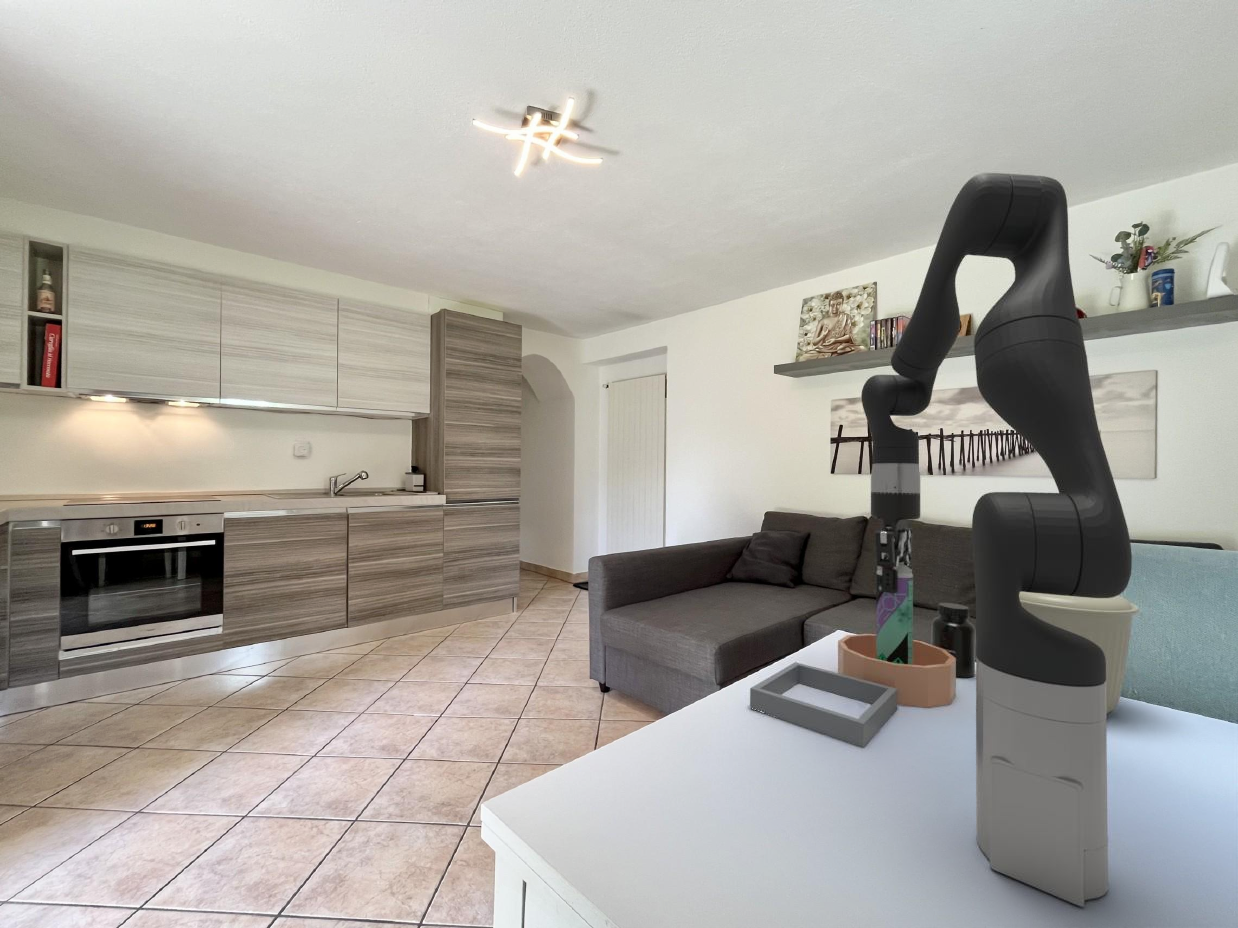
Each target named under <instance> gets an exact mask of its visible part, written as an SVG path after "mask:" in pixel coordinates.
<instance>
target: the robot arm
mask: <svg viewBox="0 0 1238 928" xmlns="http://www.w3.org/2000/svg"><path fill="white" fill-rule="evenodd" d="M1063 186H1064V185H1062V184H1061V182H1060V181H1058V180H1057V179H1055V178H1053V177H1049V176H1045V175H1034V174H1021V173H1020V174H1019V173H1018V174H1016V173H1002V172H983V173H979V174H976V175H974V176H972V177H971V178H970V179H968V180H967V181H966V182H965V183H964V185H963V186H962V187H961V189H960V190H959V193H957V196H956V197H955V199H954V201H953V203H952V205H951V207H950V209H949V212H948V214H947V216H946V219H945V221H944V223H943V226H942V229H941V233H940V235H939V238H938V241H937V243H936V246H935V249H934V252H933V254H932V258H931V260H930V263H929V267H928V269H927V272H926V274H925V278H924V281H923V283H922V287H921V289H920V290H921V291H920V293H919V297H918V299H917V303H916V305H915V308H914V310H913V312H912V315H911V317H910V319H909V321H908V323H907V325H906V327H905V329H904V331H903V333H902V334H901V337H900V339H899V341H898V342H897V344H896V346H895V349H894V350H893V353H892V356H891V357H890V366H891V368H892V370H893V371H894V372H895V373H896V374H875V375H872V376H870V377H869V378H868V379H867V380H866V381H865V383H864V385H863V387H862V389H861V394H860V395H861V404H862V409H863V411H864V414H865V417H866V421H867V424H868V425H867V426H868V428H869V431H870V436H871V441H872V459H871V460H872V464H871V465H872V467H871V475H870V516H871V517H873V518H875V519H877V518H878V519H882V525H881V528H880V529H879V530H875V533H874V536H875V553H876V566H877V567H878V566H880V568H881V569H882V590H883V591H884V592H888V593H896V592H897V591H898V571H897V570H898V564H899V558H900V559H901V560H902V562H904V565H906V566H907V567H909V566H910V563H911V562H912V560H913V556H912V555H913V537H914V530H913V528H912V527H908V520H909V521H911V520H912V521H913V520H915V521H916V520H919V519H920V518H921V474H920V465H919V464H920V463H919V462H920V461H919V456H920V454H919V452H920V451H919V450H920V449H919V447H920V446H919V443H920V442H919V435H918V434H917V432H916V431H914V430H911V429H907V428H904V427H899V426H898V425H896V424H895V423H894V420H893V419H892V416H893V417H895V416H896V417H913V416H916V415H919V414H921V413H922V412H924V411H925V410H926V409H927V408H928V407H929V406H930V403H931V400H932V395H933V390H934V385H935V382H936V378H937V374H938V371H939V368H940V366H941V365H942V363H943V362H944V360H945V358H946V357H947V355H948V354H949V352H950V350H951V349H952V347H953V346H954V344H955V342H956V340H957V338H958V335H959V332H960V328H961V314H960V308H959V302H958V297H957V291H956V287H957V286H956V280H957V274H958V270H959V268H960V265H961V264H962V261H963V260H964V258H965V257H966V256H978V257H988V258H989V257H990V258H998V259H999V258H1000V259H1007V260H1009V262H1011V263H1012V265H1013V267H1014V269H1013V270H1014V281H1013V282H1012V284H1011V286H1010V287H1008V289H1007V290H1006V291H1005V293H1004V294H1002V296H1001V297H1000V298H999V299H998V300H997V302H996V303H995V304H994V305H993V306H992V307H991V308H990V310H989V311H988V312H987V313H986V314H985V316H984V317H983V319H982V321H980V323H979V325H978V327H977V329H976V331H975V332H976V333H975V335H974V340H973V348H974V352H973V353H974V361H975V363H974V364H975V375H976V385H977V389H978V391H979V393H980V395H981V397H982V398H983V399H984V401H985V402H986V403H987V405H989V406H990V408H991V410H993V412H995V413H996V414H997V415H998V416H999V417H1000V418H1001V420H1003V421H1004V422H1005V423H1006V424H1007V425H1009V426H1010V427H1011V428H1012V429H1013V430H1014V431H1015V432H1016V433H1018V435H1020V436H1021V437H1022V438H1023V439H1024V440H1025V441H1026V442H1027V443H1028V444H1029V445H1030V446H1032V448H1033V449H1034V450H1035V451H1036V452H1037V454H1038V455H1039V456H1040V457H1041V459H1042V460H1043V461H1044V463H1045V465H1046V467H1047V468H1048V470H1049V473H1050V474H1051V476H1052V478H1053V480H1054V482H1055V485H1056V488H1057V490H1058V492H1035V491H1034V492H1030V491H1029V492H1028V491H1027V492H1025V491H1023V492H1020V491H992V492H987V493H985V494H983V495H981V496H980V497H979V498H978V500H977V502H976V504H975V506H974V508H973V513H972V519H971V521H972V522H971V542H972V543H971V544H972V545H971V546H972V558H973V571H974V587H975V620H976V621H975V632H976V636H975V673H976V674H975V675H976V676H975V678H976V680H975V681H976V682H975V684H976V685H975V686H976V687H975V704H976V705H975V711H976V712H975V714H976V715H975V723H976V724H975V725H976V726H975V728H976V729H975V737H976V738H975V745H976V746H975V747H976V748H975V750H976V751H975V761H976V762H975V763H976V764H975V766H976V767H975V769H976V770H975V772H976V774H975V775H976V777H975V779H976V780H975V783H976V785H975V786H976V787H975V789H976V791H975V796H976V797H975V798H976V802H975V803H976V807H975V808H976V841H977V844H978V846H979V848H980V850H981V851H982V852H983V853H984V855H985V856H986V857H987V858H988V860H989V868H990V869H992V870H994V871H996V872H998V873H1001V874H1003V875H1006V876H1009V877H1010V878H1013V879H1014V880H1017V881H1019V882H1022V883H1024V884H1027V885H1029V886H1032V887H1034V888H1037V889H1038V890H1041V891H1043V892H1046V893H1047V894H1051V895H1052V896H1055V897H1056V898H1059V899H1061V900H1064V901H1066V902H1068V903H1072V904H1074V905H1075V906H1079V907H1081V908H1083V907H1085V902H1086V900H1087V901H1088V900H1093V899H1098V898H1100V897H1103V896H1105V894H1106V893H1107V892H1108V890H1109V838H1108V836H1109V835H1108V832H1109V831H1108V828H1109V827H1108V755H1107V754H1108V751H1107V746H1108V743H1107V714H1108V713H1107V712H1106V659H1105V655H1104V652H1103V651H1102V649H1101V648H1100V647H1099V646H1098V645H1096V644H1095V643H1093V642H1092V641H1090V640H1088V639H1086V638H1084V637H1082V636H1080V635H1077V634H1075V633H1072V632H1070V631H1067V630H1064V629H1062V628H1059V627H1056V626H1054V625H1052V624H1049V623H1047V622H1045V621H1043V620H1041V619H1039V618H1037V617H1036V616H1034V615H1033V614H1031V613H1030V612H1028V611H1027V610H1026V609H1025V608H1023V607H1022V605H1021V603H1020V598H1019V593H1020V592H1031V593H1042V594H1052V595H1063V596H1075V597H1088V598H1112V597H1115V596H1118V595H1119V596H1121V594H1122V593H1123V592H1124V591H1125V590H1126V588H1127V587H1128V585H1129V583H1130V578H1131V576H1132V563H1133V561H1132V560H1133V556H1132V555H1133V554H1132V546H1131V540H1130V533H1129V528H1128V525H1127V520H1126V517H1125V513H1124V510H1123V506H1122V503H1121V499H1120V496H1119V494H1118V490H1117V486H1116V484H1115V480H1114V477H1113V474H1112V470H1111V467H1110V464H1109V461H1108V457H1107V454H1106V451H1105V448H1104V445H1103V441H1102V437H1101V433H1100V430H1099V425H1098V421H1097V417H1096V416H1097V415H1096V410H1095V405H1094V404H1095V403H1094V399H1093V398H1094V397H1093V391H1092V386H1091V380H1090V372H1089V371H1090V370H1089V363H1088V355H1087V351H1086V346H1085V339H1084V334H1083V330H1082V326H1081V323H1080V319H1079V315H1078V311H1077V307H1076V305H1077V304H1076V300H1075V299H1076V298H1075V293H1074V288H1073V279H1072V273H1071V265H1070V252H1069V211H1068V200H1067V195H1066V192H1065V191H1066V190H1065V189H1064V187H1063ZM887 557H888V558H889V557H890V560H888V559H887Z"/></svg>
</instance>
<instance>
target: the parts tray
mask: <svg viewBox="0 0 1238 928" xmlns="http://www.w3.org/2000/svg"><path fill="white" fill-rule="evenodd" d="M797 684H800V685H801V684H802V685H805V686H807V687H811V688H814V689H818V690H821V691H826V692H828V693H832V694H836V695H839V696H843V697H846V698H850V699H852V700H855V701H856V700H857V701H859V702H864V703H867V704H870V706H869V707H868V708H867V709H866V710H865V711H864V712H863V713H862V714H861V715H860V716H859V717H858V718H856V717H853V716H850V715H847V714H844V713H841V712H838V711H834V710H830V709H828V708H824V707H821V706H819V705H815V704H813V703H809V702H806V701H805V702H804V701H802V700H799V699H796V698H792V697H789V696H786V695H783V694H784V693H786V692H788V691H789V690H790V689H791V688H793V687H794V686H796V685H797ZM749 689H750V690H749V691H750V692H749V693H750V695H749V708H750V707H751V708H753V709H756V710H759V711H762V712H764V713H766V714H765V715H767V714H769V715H768V716H770V715H772V716H771V717H773V716H775V717H774V718H776V717H777V718H776V719H779V718H780V719H779V720H781V721H782V720H783V721H785V722H787V721H788V723H790V722H791V724H794V725H796V726H800V727H802V728H804V729H805V728H806V729H809V730H811V731H814V732H816V733H820V734H823V735H825V736H829V737H832V738H833V739H838V740H841V741H843V742H846V743H849V744H852V745H854V746H858V747H861V748H865V747H866V745H867V744H868V743H869V742H870V741H871V740H872V738H873V737H874V736H875V735H876V734H877V733H878V732H879V731H880V729H881V728H882V727H883V726H884V725H885V723H886V722H887V721H889V719H890V718H891V717H892V716H893V715H894V714H895V712H896V711H897V710H898V689H897V688H893V687H889V686H885V685H881V684H878V683H874V682H870V681H866V680H862V679H858V678H854V677H851V676H847V675H843V674H839V673H838V672H835V671H830V670H829V669H828V670H827V669H823V668H819V667H816V666H811V665H808V664H804V663H799V662H796V661H795V662H793V663H791V664H789V665H788V666H786V667H784V668H783V669H780V670H779V671H777V672H776V673H774V674H772V675H771V676H769V677H767V678H765V679H764V680H762V681H761V682H759V683H757V684H755V685H753V686H751V687H750V688H749ZM764 713H763V714H764Z"/></svg>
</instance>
